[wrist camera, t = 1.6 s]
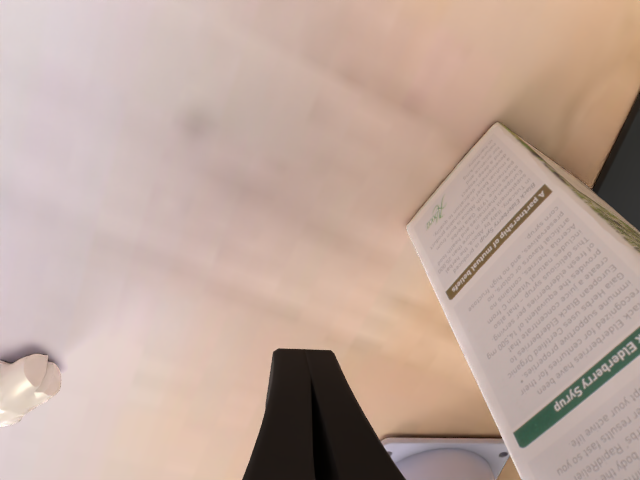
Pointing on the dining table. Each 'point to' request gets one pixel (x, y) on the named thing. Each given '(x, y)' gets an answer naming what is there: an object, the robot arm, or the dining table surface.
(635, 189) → the rubber mat
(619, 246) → the syrup box
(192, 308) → the dining table surface
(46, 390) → the white creature statuette
